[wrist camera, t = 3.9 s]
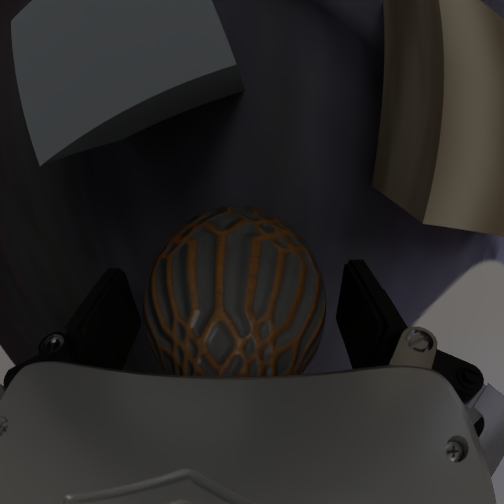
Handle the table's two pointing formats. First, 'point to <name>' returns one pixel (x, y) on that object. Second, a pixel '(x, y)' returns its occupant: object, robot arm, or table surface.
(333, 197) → the table surface
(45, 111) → the slate block
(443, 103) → the birch block
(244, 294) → the vase
